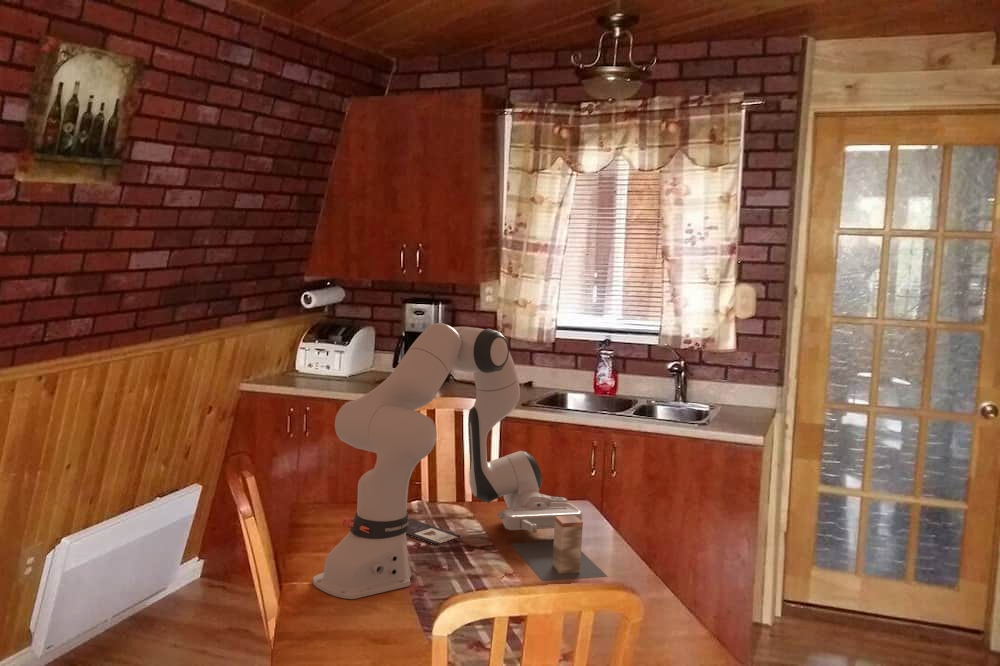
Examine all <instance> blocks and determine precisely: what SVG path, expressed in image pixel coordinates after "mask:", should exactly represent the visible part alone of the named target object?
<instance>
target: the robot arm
mask: <svg viewBox="0 0 1000 666" xmlns="http://www.w3.org/2000/svg"><path fill="white" fill-rule="evenodd" d="M452 370H454V371H460V372H464V373H473V374H472V375H473V379H474V380H473V381H474V385H475V389H476V395H475V396H476V397H475V402H474V405H473V406H472V407H471V408H470V409H469V411H468V417H467V419H468V421H467V427H468V428H467V430H468V431H467V432H468V450H469V451H468V452H469V473H468V475H469V480H468V481H469V483H468V484H469V487H470V488H469V489H470V490H471V493H472V495H473V496H474V498H475V499H477V500H479V501H481V502H484V503H487V504H488V503H490V502H493V501H496V500H497V499H499V498H501V497H503V499H504V502H505V504H506V506H507V508H503V510H501V511H499V512H498V513H497V517H498V518H499V519H501V520H502V524H503V526H504V528H505V529H506V530H509V531H522V530H525V531H528V532H529V533H537V530H541V529H542V530H545V529H554V528H555V516H573V515H575V516H576V517H577V518H579V519H580V520H581V521H582V522H583V512H582V511H581V510H580V509H579V508H578V507H577V506H575V504H572V503H570V502H568V499H567V498H566V497H561V496H560V497H559V496H551V495H547V494H544V493H540V492H539V491H540V490H541V488H542V483H543V478H542V472H541V469H540V466H539V464H538V462H537V460H536V459H535V458H534V456H532V455H531V453H528V451H527V452H526V451H525V450H518V451H516V452H513V453H510V454H507V455H504V456H502V457H498V458H496V459H493V460H490V461H488V451H487V439H488V435H489V433H490V431H491V430H492V429H493V428H494V427H495V426H496V425H497V424H498V423H499V422H501V421H502V420H503V419H505V418H506V417H507V416H509V415H510V414H511V413H512V412H513V410H514V409H515V408H516V407H517V405H518V403H519V401H520V399H521V387H520V381H519V377H518V373H517V369H516V366H515V362H514V360H513V357H512V355H511V353H510V347H509V343H508V341H507V338H506V337H505V336H504V335H503V333H502V332H500V331H498V330H494V329H491V328H485V329H484V328H480V327H471V326H451V325H449V324H446V323H444V322H443V323H442V322H437V323H432V324H431V325H429V326H428V327H427V328H426V329H425V330H424V331H422V332H421V333H420V335H419V336H418V337H417V338H416V339H415V340H414V342H413V343H412V344H411V346H409V348H408V350H407V351H406V353H405V354H404V355H403V357H402V359H400V361H399V363H398V364H397V365H396V367H395V368H394V369H393V371H392V372H391V373H390V375H389V376H387V377H386V378H385V380H383V381H382V382H381V383H380V384H378V385H377V386H376V387H375V388H374V389H372V390H371V391H369V392H368V393H365V394H364V395H362V396H361V397H359V398H356V399H353V400H349V401H347V402H345V403H344V404H342V406H341V407H340V408H339V410H338V411H337V412H336V415H335V420H334V430H335V434H336V436H337V437H338V439H339V440H340V441H342V442H344V443H345V444H347V445H348V446H351V447H353V448H354V449H358V450H362V451H367V452H371V453H375V454H376V461H375V465H374V468H372V469H370V470H368V471H366V472H365V473H364V474H363V475H362V476H361V477H360V478H359V480H358V484H357V505H356V508H357V509H356V512H355V515H354V516H353V519H350V518H349V517H344V518H342V520H341V525H342V527H344V528H347V529H349V532H348V533H347V535H345V536H344V537H343V538H342V539H341V540H340V542H339V543H337V544H336V545H335V547H334V548H333V549H332V550H331V551H330V552H329V553H328V554H327V555H326V558H325V562H324V567H323V568H324V569H323V572H321V573H318V574H316V575H315V576H313V577H312V584H313V585H314V587H316V588H317V589H319V590H320V591H322V592H324V593H326V594H328V595H330V596H333V597H337V598H341V599H347V600H356V599H359V598H364V597H367V596H368V597H369V596H372V595H376V594H381V593H385V592H389V591H394V590H398V589H403V588H406V587H410V586H411V577H412V575H413V574H412V570H411V566H410V560H409V555H408V553H409V552H408V543H407V535H406V531H407V530H408V520H409V513H408V512H407V511H408V510H407V509H408V495H409V494H408V493H409V485H410V479H411V476H412V474H413V472H414V469H415V468H416V466H417V465H418V463H420V461H422V460H423V459H425V458H427V456H428V455H429V454H430V453H431V452H432V451H433V449H434V447H435V445H436V442H437V434H438V433H437V427H436V425H435V422H434V420H433V419H432V417H429V416H427V415H425V414H423V413H422V412H419V411H417V409H420V408H423V407H426V406H427V405H428V404H430V403H431V402H432V401H433V400H434V398H435V397H436V395H437V394H438V392H439V391H440V389H441V387H442V385H443V384H444V382H445V381H446V379H447V378H448V376H449V374H450V373H451V371H452Z"/></svg>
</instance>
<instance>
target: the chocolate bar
mask: <svg viewBox="0 0 1000 666" xmlns="http://www.w3.org/2000/svg"><path fill="white" fill-rule="evenodd" d="M406 534H407V535H410V536H413V537H416V538H419V539H421V540H424V541H426V542H429V543H432V544H434V545H433V546H435V545H437V546H439V545H438V544H440V543H443V542H445V541H448V540H451V539H454V538H457V537H460V536H461V535H459V534H456V533H454V532H451V531H447V530H445V531H444V529H441V528H439V527H436V526H434V525H430V524H427V523H425V522H422V521H419V520H416V519H414V518H410V519H409V518H408V530H407V531H406ZM407 535H406V536H407ZM410 536H409V537H410ZM413 537H412V538H413ZM421 540H420V541H421ZM424 541H423V542H424ZM426 542H425V543H426ZM429 543H428V544H429ZM432 544H431V545H432ZM443 544H444V543H443ZM440 545H441V544H440Z"/></svg>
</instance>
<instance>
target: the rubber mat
mask: <svg viewBox="0 0 1000 666" xmlns="http://www.w3.org/2000/svg"><path fill="white" fill-rule="evenodd" d="M510 545H511V547H512V548H513V549H514V550H515V551H516V552H517V553H518V555H519V556H520V557H521V558H522V559H523V561H524V562H525V563H526V564H527V565H528V566H529V568H530V569H531V570H532V571H533V572H534V574H536V575H537V577H538V578H539V579H540V580H541V582H547V581H549V582H550V581H563V580H576V579H577V580H578V579H591V578H594V579H595V578H605V577H608V575H607V574H606V573H605V572H604V571H603V570H602V569H601V568H600V567H599V566H598V565H596V563H594V562H593V561H592V560H591V559H590V558H589V557H588V556H587V555H586V554H585V553H584V552H583V551H582V550H581V561H580V572H575V573H559V572H558V571H557V570H556V569H555V568H554V567H553V566H552V562H553V545H554V541H542V542H527V543H511V544H510Z"/></svg>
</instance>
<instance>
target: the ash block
mask: <svg viewBox="0 0 1000 666" xmlns="http://www.w3.org/2000/svg"><path fill="white" fill-rule="evenodd" d="M583 524H584V522H583V520H582V521H581V520H580V519H579V518H577V517H576V516H575V515H573V516H555V528H553V529H554V532H553V542H554V545H553V562H552V566H553V567H554V568H555V569H556V570H557V571H558V572H559V573H575V572H580V561H581V551H582V543H583V527H584V525H583Z"/></svg>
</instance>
